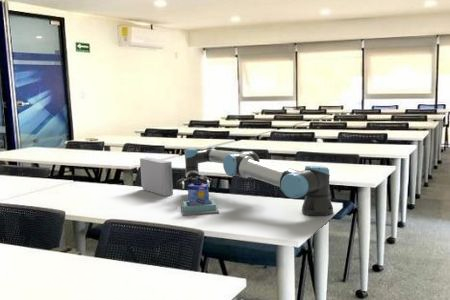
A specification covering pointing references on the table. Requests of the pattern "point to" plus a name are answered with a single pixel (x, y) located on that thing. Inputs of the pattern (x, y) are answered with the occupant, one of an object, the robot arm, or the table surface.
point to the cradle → (199, 209)
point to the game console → (156, 176)
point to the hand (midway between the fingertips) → (196, 185)
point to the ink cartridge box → (198, 194)
